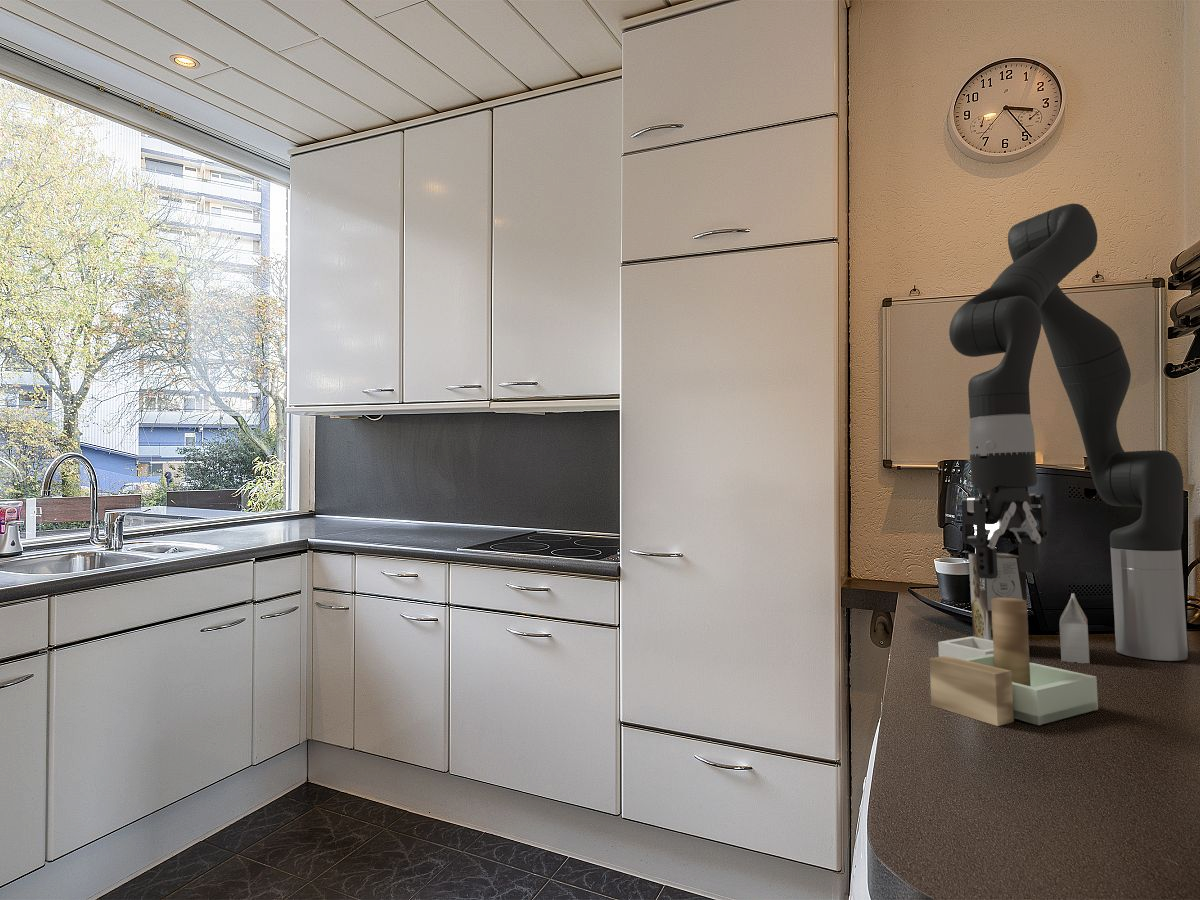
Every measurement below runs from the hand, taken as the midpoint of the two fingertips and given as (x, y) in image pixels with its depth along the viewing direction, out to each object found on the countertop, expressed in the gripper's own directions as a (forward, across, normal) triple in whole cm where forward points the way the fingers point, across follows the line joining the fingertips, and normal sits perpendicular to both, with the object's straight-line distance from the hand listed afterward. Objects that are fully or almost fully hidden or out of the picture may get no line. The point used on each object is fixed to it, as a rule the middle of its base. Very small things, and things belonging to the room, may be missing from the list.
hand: (1008, 575), depth 92 cm
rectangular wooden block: (+16, +9, 0) cm, 18 cm away
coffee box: (+17, -27, -20) cm, 38 cm away
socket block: (+17, -13, -14) cm, 25 cm away
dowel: (+15, 0, 0) cm, 15 cm away
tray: (+16, 0, 0) cm, 17 cm away
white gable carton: (+17, -31, -10) cm, 37 cm away
